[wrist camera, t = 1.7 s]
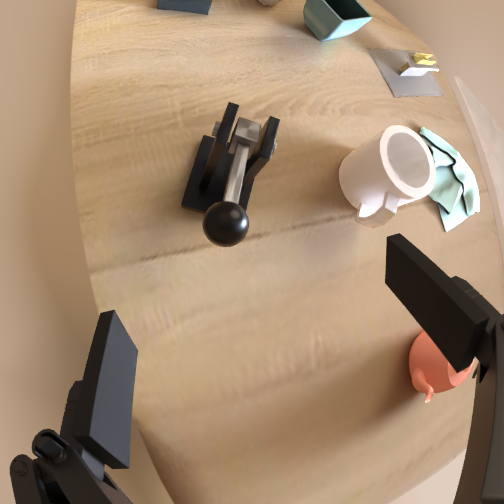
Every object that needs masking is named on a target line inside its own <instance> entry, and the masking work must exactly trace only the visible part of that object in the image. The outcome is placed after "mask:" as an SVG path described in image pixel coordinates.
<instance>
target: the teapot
mask: <svg viewBox="0 0 504 504" xmlns="http://www.w3.org/2000/svg"><path fill="white" fill-rule="evenodd" d="M473 361H474V359H473ZM472 366H473V362H472V364H471V366H469V367H468V368H466V369H464V370H463V371H461V372H459V373H456V371H455V370H454V368H453V367H452V366H451V364H450V363H449V362H448V360H447V359H446V358H445V356H444V355H443V354H442V353H441V351H440V350H439V349H438V347H437V346H436V345H435V343H434V342H433V341H432V340H431V338H430V337H429V336H428V334H427V333H426V332H425V331H424V330H423V331H422V332H421V333H420V334H419V335H418V337H417V338H416V339H415V341H414V342H413V344H412V347H411V350H410V354H409V369H410V374H411V377H412V383H413V386H414V387H415V389H417V390H418V391H420V392H423V393H425V394H426V399H425V402H426V403H427V402H428V401H429V400H430V399H431V398H432V396H433V393H440V392H444V391H447V390H450V389H452V388H454V387H456V386H458V385H460V384H461V383H462V382H463V381H464V380H465V379H466V378H467V377H468V375H469V374H470V372H471V369H472Z"/></svg>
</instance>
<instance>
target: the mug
mask: <svg viewBox="0 0 504 504" xmlns="http://www.w3.org/2000/svg"><path fill="white" fill-rule="evenodd" d="M435 180H436V168H435V163H434V159H433V156H432V154H431V152H430V150H429V148H428V146H427V145H426V143H425V142H424V141H423V139H422V138H421V137H420V136H419V135H418V134H417V133H416V132H414V131H413V130H411V129H409V128H408V127H406V126H401V125H394V126H390V127H388V128H387V129H385V130H384V131H382V132H381V133H379V134H378V135H376V136H375V137H373V138H372V139H370V140H369V141H367V142H366V143H364V144H363V145H361V146H360V147H359V148H357V149H356V150H354V151H353V152H351V153H350V154H348V155H347V156H346V157H345V158H344V159H343V161H342V163H341V165H340V167H339V182H340V187H341V189H342V191H343V194H344V196H345V197H346V199H347V200H348V201H349V202H350V204H351V205H352V206H354V207H355V208H356V209H358V212H357V216H356V220H355V221H357V222H359V223H361V224H363V225H365V226H368V227H372V228H375V227H378V226H381V225H384V224H385V223H386V222H387V221H389V220H390V219H391V218H392V217H393V216H394V215H395V214H396V211H397V206H400V205H402V204H405V203H408V202H411V201H414V200H417V199H420V198H423V197H425V196H427V195H428V194H430V192H431V191H432V189H433V188H434V184H435ZM371 214H372V215H371Z"/></svg>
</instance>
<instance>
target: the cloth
mask: <svg viewBox="0 0 504 504" xmlns="http://www.w3.org/2000/svg"><path fill="white" fill-rule="evenodd" d="M420 134H422V137H423V141H424V142H425V143H426V145H427V146H430V147H431V149H432V151H431V150H430V152H431V154H432V156H433V159H434V163H435V168H436V180H435V184H434V188H433V189H432V191H431V192H430V194H428V196H429V197H430V198H431V199H432V200H434V201H436V202H437V205H438V208H439V211H440V215H441V218H442V221H443V224H444V228H445V231H446V232H447V231H449V230H450V229H452V228H453V227H455V226H456V225H458V224H459V223H461V222H462V221H463V220H464V219H466V218H467V217H468V216H470V215H472V214H474V211H475V212H479V208H480V207H479V194H478V189H477V183H476V180H475V177H474V174H473V172H472V171H471V169H470V168H469V166H468V165H467V164H466V163H465V162H464V160H463V159H462V157H461V155H460V154H459V153H458V152H457V151H456V150H455V149H454V148H453V147H452V146H451V145H449V144H448V143H447V142H446V141H445V140H443V139H442V138H441V137H439V136H437V135H436V134H435V133H433V132H432V131H430V130H428V129H426V128H424V127H421V131H420Z"/></svg>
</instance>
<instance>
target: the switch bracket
mask: <svg viewBox="0 0 504 504" xmlns="http://www.w3.org/2000/svg"><path fill="white" fill-rule="evenodd" d="M238 107H239V105H237V104H234V103H231V102H229V103H228V105H227V108H226V111H225V113H224V116H223V118H222V121H221V123H220V122H217V121H216V123H215V126H214V129H213V132H212V136H216V137H215V138H213V137H209V136H206V135H204V136H203V139H202V141H201V144H200V147H199V150H198V153H197V156H196V159H195V162H194V165H193V168H192V171H191V174H190V177H189V181H188V184H187V187H186V190H185V193H184V196H183V200H182V203H181V207H183V208H186V209H190V210H193V211H197V212H200V213H204V214H205V213H206V211H207V210H208V209H209V208H210V207H211V206H212V205H213V204H215V203H217V202H220V201H223V197H224V193H225V189H226V184H227V180H228V176H229V172H230V167H231V163H232V159H233V155H234V154H231V153H228V152H227V151H228V148H229V144H230V143H229V142H227V141H228V138H229V135H230V132H231V129H232V126H233V123H234V120H235V117H236V114H237V111H238ZM279 122H280V119H277V118H274V117H272V116H270V117H269V119H268V120H267V122H266V123H265V125H264V126H263V128H262V129H261V131H260V134H259V139H258V143H257V145H256V147H255V149H254V151H253V153H252V155H251V157H250V159H247V161H246V166H245V171H244V176H243V182H242V187H241V192H240V197H239V202H238V205H240V206H241V207H242V208H243V209H244V210H245V212H246V209H247V205H248V201H249V197H250V193H251V189H252V185H253V181H254V178H255V176H256V175H257V174H258V173H259V172H260V170H261V169H262V168H263V167H264V166H265V165H266V163H267V162H268V161H269V160H270V158H271V155H272V154H273V153H274V151H275V149H276V146H277V141H275V138H276V134H277V130H278V126H279Z"/></svg>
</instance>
